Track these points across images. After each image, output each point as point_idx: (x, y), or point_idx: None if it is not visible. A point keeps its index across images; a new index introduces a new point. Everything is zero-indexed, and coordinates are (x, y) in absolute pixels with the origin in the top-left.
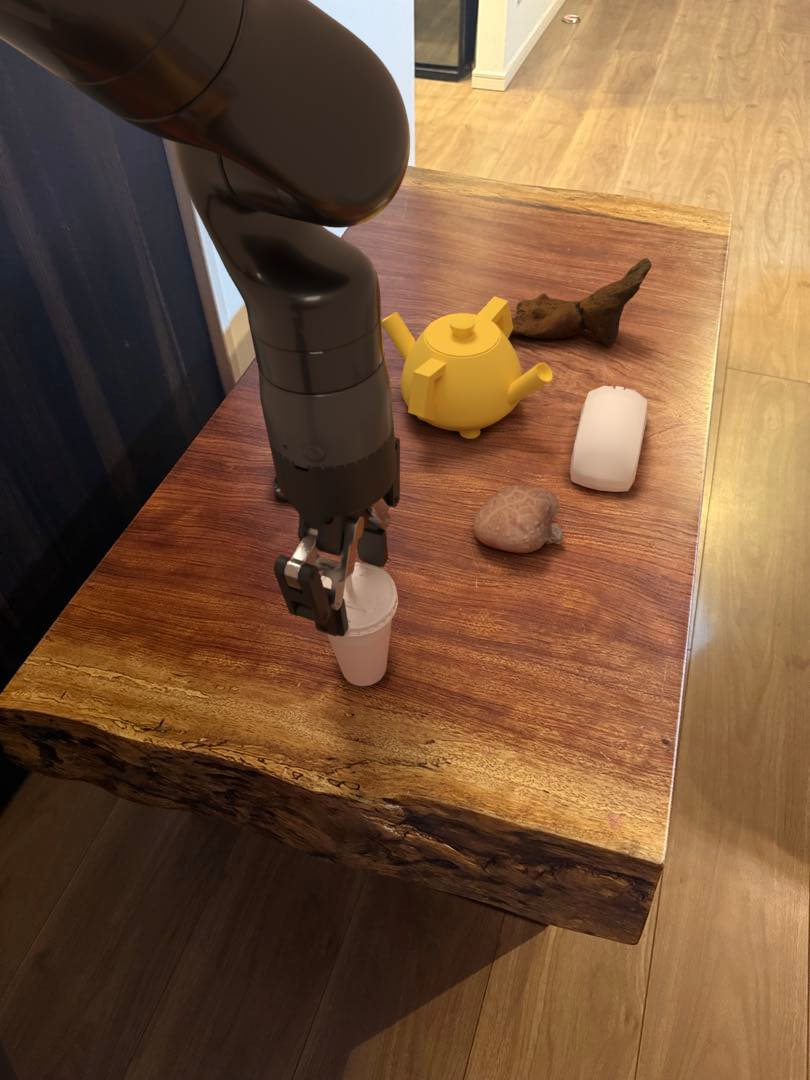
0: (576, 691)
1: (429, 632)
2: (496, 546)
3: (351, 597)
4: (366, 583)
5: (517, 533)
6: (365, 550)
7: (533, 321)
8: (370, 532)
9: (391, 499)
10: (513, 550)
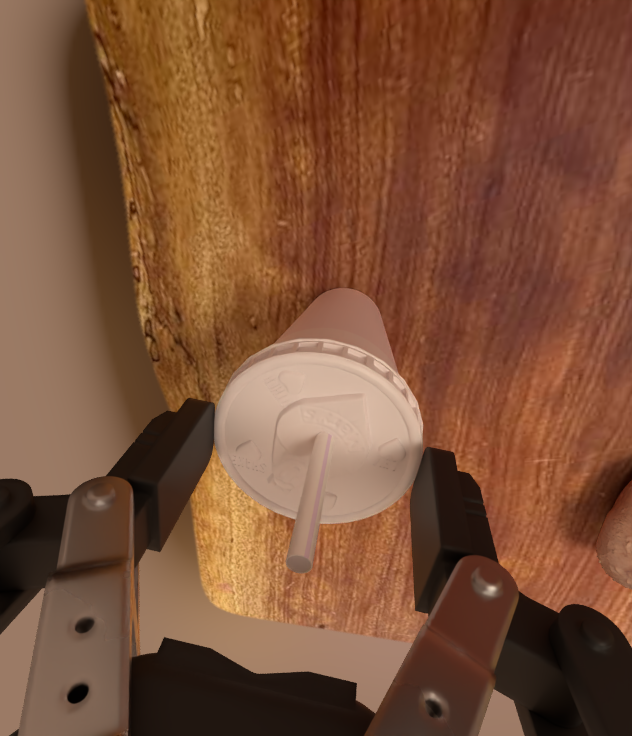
0: (364, 567)
1: (431, 407)
2: (614, 509)
3: (296, 450)
4: (349, 471)
5: (628, 562)
6: (425, 493)
7: None
8: (424, 586)
9: (523, 722)
10: (599, 536)
